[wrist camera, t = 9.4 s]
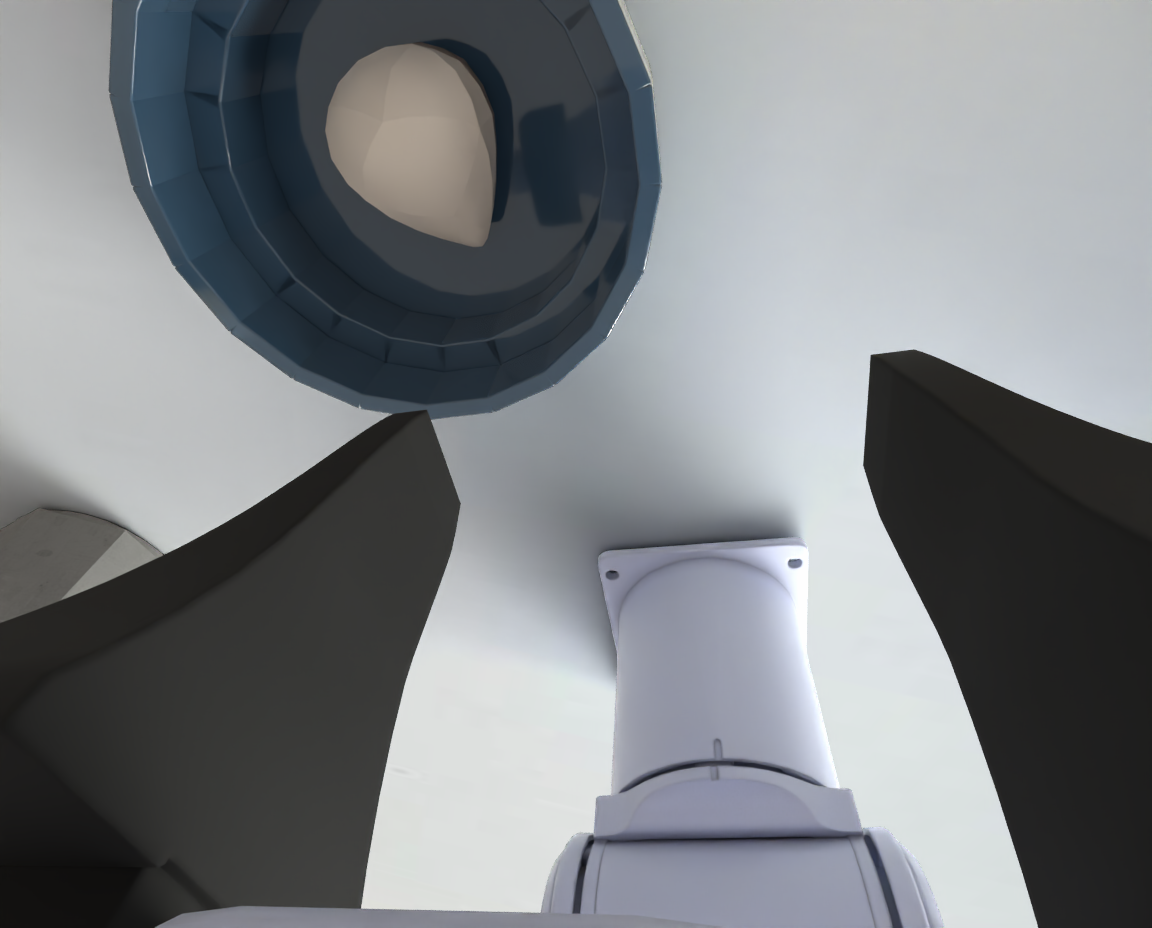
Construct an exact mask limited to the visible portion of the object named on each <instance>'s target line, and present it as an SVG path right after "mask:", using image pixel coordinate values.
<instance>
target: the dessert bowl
mask: <svg viewBox="0 0 1152 928" xmlns="http://www.w3.org/2000/svg"><path fill="white" fill-rule="evenodd" d="M420 42H422V43H426V44H430V45H433V46H437V47H441V48H444V49H446V50H448V51H450V52H451V53H453V54H455V55H457V56H459V57H461V58H463V59H464V60H465V61H466V62H467V64H468V65H469V66H470V68H471V69H472V71H473V72H474V73H475V75H476V76H477V77H478V79H479V80H480V81H481V83H482V84H483V87H484V89H485V92H486V94H487V97H488V99H489V102H490V104H491V107H492V109H493V112H494V118H495V130H496V142H497V173H496V190H495V200H494V208H493V214H492V219H491V225H490V229H489V234H488V238H487V240H486V242H485V243H484V245H483V246H481V247H471V246H467V245H463V244H460V243H456V242H452V241H448V240H444V239H441V238H438V237H435V236H432V235H429V234H426V233H423V232H420V231H418V230H415V229H413V228H411V227H409V226H407V225H405V224H403V223H400V222H398V221H396V220H394V219H392V218H390V217H389V216H387V215H386V214H384V213H383V212H381V211H380V210H379V209H377V208H376V207H374V206H373V205H372V204H370V203H369V202H367V201H365V200H364V199H363V198H362V197H361V196H360V195H359V194H358V193H357V192H356V191H355V190H354V189H352V188H351V187H350V186H349V185H348V184H347V182H346V181H345V179H344V178H343V176H342V175H341V173H340V172H339V170H338V168H337V167H336V165H335V164H334V162H333V161H332V159H331V155H330V151H329V146H328V141H327V137H326V132H325V128H326V121H327V114H328V107H329V104H330V102H331V99H332V97H333V94H334V92H335V89H336V87H337V84H338V83H339V82H340V80H341V79H342V78H343V77H344V76H345V75H346V74H347V72H348V71H349V70H350V69H351V68H352V67H353V66H354V64H355V63H356V62H357V61H358V60H360V59H362V58H364V57H366V56H368V55H370V54H372V53H374V52H376V51H378V50H380V49H382V48H384V47H388V46H396V45H402V44H411V43H420ZM109 93H111V94H110V100H111V104H112V108H113V112H114V117H115V121H116V125H117V129H118V133H119V137H120V141H121V145H122V149H123V153H124V157H125V161H126V165H127V170H128V174H129V178H130V182H131V185H132V186H134V187H133V190H134V192H135V194H136V196H137V198H138V199H139V201H140V203H141V205H142V207H143V209H144V211H145V213H146V215H147V217H148V219H149V220H150V222H151V224H152V226H153V228H154V230H155V232H156V234H157V236H158V238H159V239H160V241H161V243H162V245H163V247H164V249H165V251H166V253H167V255H168V257H169V259H170V260H171V262H172V264H173V266H176V267H175V269H176V270H177V271H178V273H179V274H180V275H181V276H182V277H183V278H184V280H185V281H186V282H187V283H188V284H189V285H190V287H191V288H192V289H193V290H194V291H195V292H196V294H197V295H198V296H199V297H200V298H201V299H202V301H203V302H204V303H205V304H206V305H207V306H208V308H209V309H210V310H211V311H212V312H213V313H214V315H215V316H216V317H217V318H218V319H219V321H220V322H221V323H222V324H223V325H224V326H225V328H226V329H227V330H228V331H231V334H233V335H234V336H235V337H237V338H238V339H239V340H241V341H242V342H243V343H245V344H246V345H247V346H249V347H250V348H251V349H253V350H254V351H255V352H257V353H258V354H259V355H261V356H262V357H263V358H265V359H266V360H267V361H269V362H270V363H271V364H273V365H274V366H276V367H277V368H278V369H280V370H281V371H282V372H284V373H285V374H286V375H288V376H289V377H290V378H294V380H295V381H298V382H300V383H302V384H304V385H307V386H309V387H311V388H314V389H316V390H318V391H320V392H323V393H325V394H327V395H330V396H332V397H334V398H336V399H339V400H341V401H343V402H346V403H348V404H350V405H352V406H355V407H357V408H361V409H364V410H370V411H376V412H383V413H389V414H395V413H403V412H411V411H419V410H427V411H428V414H429V416H430V419H431V420H432V419H441V418H450V417H459V416H467V415H476V414H485V413H492V412H496V411H499V410H501V409H503V408H505V407H508V406H510V405H512V404H514V403H517V402H519V401H521V400H523V399H526V398H528V397H530V396H532V395H535V394H537V393H539V392H542V391H544V390H546V389H548V388H551V387H553V386H554V385H556V384H557V383H559V382H560V381H561V380H562V379H563V378H564V377H565V376H566V375H567V374H568V373H570V372H571V371H572V370H573V369H574V368H575V367H576V366H577V365H578V364H579V363H581V362H582V361H583V360H584V359H585V358H586V357H587V356H588V355H589V354H590V353H592V352H593V351H594V350H595V349H596V348H597V347H598V346H599V345H600V344H601V343H603V342H604V341H605V340H606V338H607V337H608V336H609V334H610V333H611V331H612V329H613V327H614V325H615V324H616V322H617V320H618V318H619V316H620V315H621V313H622V311H623V309H624V307H625V306H626V304H627V302H628V300H629V299H630V297H631V295H632V293H633V291H634V290H635V288H636V286H637V284H638V282H639V281H640V279H641V277H642V275H643V273H644V270H645V268H646V263H647V258H648V253H649V248H650V243H651V238H652V233H653V228H654V223H655V218H656V213H657V208H658V203H659V198H660V193H661V188H662V186H661V183H662V176H661V162H660V149H659V139H658V129H657V119H656V109H655V99H654V89H653V79H652V71H651V70H650V64H649V62H648V59H647V57H646V54H645V52H644V49H643V47H642V44H641V42H640V39H639V37H638V34H637V32H636V29H635V27H634V25H633V22H632V20H631V17H630V15H629V12H628V10H627V7H626V5H625V2H624V0H112V23H111V48H110V73H109Z"/></svg>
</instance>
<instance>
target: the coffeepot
mask: <svg viewBox="0 0 1152 928" xmlns="http://www.w3.org/2000/svg"><path fill="white" fill-rule="evenodd" d="M160 556H163V554H162V553H161V552H159V551H158V550H157V549H155V548H154V547H153V546H152V545H150V544H149V543H148V542H146V541H145V540H143V539H141V538H140V537H138V536H136V535H135V534H133V533H131V532H130V531H128V530H126V529H124V528H121V527H119V526H117V525H115V524H113V523H110V522H108V521H105V520H102V519H99V518H96V517H93V516H90V515H86V514H81V513H76V512H71V511H58V510H46V509H41V508H38V509H36V510H34V511H32V512H31V513H29V514H27V515H25V516H22V517H20V518H19V519H17V520H16V521H15V522H13V523H11V524H10V525H8V526H6V527H4V528H3V529H1V530H0V623H1V622H4V621H7V620H10V619H12V618H15V617H18V616H21V615H23V614H26V613H29V612H32V611H34V610H37V609H39V608H42V607H45V606H47V605H50V604H52V603H55V602H58V601H60V600H63V599H65V598H68V597H70V596H73V595H75V594H78V593H80V592H83V591H85V590H87V589H90V588H92V587H95V586H97V585H100V584H102V583H104V582H107V581H109V580H111V579H114V578H116V577H118V576H120V575H122V574H124V573H126V572H129V571H131V570H133V569H135V568H137V567H139V566H141V565H143V564H146V563H148V562H150V561H152V560H154V559H156V558H158V557H160Z"/></svg>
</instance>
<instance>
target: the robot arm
mask: <svg viewBox="0 0 1152 928" xmlns="http://www.w3.org/2000/svg"><path fill="white" fill-rule="evenodd" d="M863 466H864V469H865V472H866V476H867V479H868V482H869V485H870V489H871V492H872V495H873V498H874V501H875V504H876V507H877V510H878V513H879V516H880V518H881V520H882V522H883V524H884V526H885V529H886V531H887V533H888V535H889V537H890V539H891V541H892V543H893V545H894V547H895V549H896V551H897V553H898V555H899V557H900V559H901V561H902V563H903V565H904V567H905V569H906V571H907V573H908V575H909V577H910V579H911V581H912V582H913V584H914V586H915V588H916V590H917V592H918V594H919V596H920V598H921V600H922V602H923V604H924V606H925V608H926V610H927V612H928V614H929V616H930V618H931V620H932V622H933V624H934V626H935V628H936V630H937V632H938V634H939V636H940V639H941V641H942V643H943V645H944V648H945V650H946V652H947V654H948V657H949V659H950V661H951V664H952V667H953V669H954V672H955V675H956V678H957V680H958V683H959V686H960V688H961V691H962V694H963V697H964V699H965V702H966V705H967V707H968V710H969V713H970V716H971V718H972V721H973V724H974V727H975V730H976V733H977V736H978V739H979V741H980V744H981V747H982V750H983V753H984V756H985V759H986V762H987V765H988V768H989V771H990V774H991V776H992V779H993V782H994V785H995V788H996V791H997V794H998V797H999V801H1000V804H1001V807H1002V810H1003V813H1004V816H1005V820H1006V823H1007V826H1008V829H1009V832H1010V835H1011V838H1012V842H1013V845H1014V848H1015V851H1016V854H1017V857H1018V860H1019V864H1020V867H1021V870H1022V873H1023V876H1024V880H1025V883H1026V887H1027V890H1028V894H1029V897H1030V900H1031V904H1032V907H1033V911H1034V914H1035V918H1036V921H1037V924H1038V928H1152V443H1149V442H1145V441H1142V440H1139V439H1136V438H1132V437H1129V436H1126V435H1123V434H1120V433H1117V432H1114V431H1111V430H1108V429H1106V428H1103V427H1100V426H1097V425H1095V424H1092V423H1089V422H1087V421H1084V420H1081V419H1079V418H1076V417H1073V416H1071V415H1068V414H1066V413H1063V412H1060V411H1058V410H1055V409H1053V408H1050V407H1048V406H1045V405H1043V404H1040V403H1038V402H1036V401H1033V400H1031V399H1028V398H1026V397H1024V396H1021V395H1019V394H1017V393H1014V392H1012V391H1010V390H1008V389H1005V388H1003V387H1001V386H999V385H996V384H994V383H992V382H990V381H988V380H985V379H983V378H981V377H979V376H977V375H974V374H972V373H970V372H968V371H966V370H963V369H961V368H959V367H957V366H955V365H952V364H950V363H948V362H945V361H943V360H941V359H939V358H936V357H934V356H931V355H929V354H926V353H923V352H920V351H917V350H907V351H899V352H891V353H882V354H874V355H871V361H870V376H869V390H868V405H867V419H866V434H865V449H864V463H863ZM460 504H461V503H460V500H459V498H458V495H457V492H456V489H455V486H454V484H453V481H452V478H451V475H450V472H449V470H448V467H447V464H446V461H445V458H444V456H443V453H442V450H441V447H440V444H439V442H438V439H437V436H436V433H435V430H434V428H433V425H432V422H431V419H430V416H429V414H428V411H427V410H419V411H411V412H403V413H395V414H392V415H390V416H388V417H386V418H384V419H383V420H381V421H379V422H378V423H376V424H374V425H373V426H371V427H370V428H368V429H367V430H365V431H364V432H362V433H361V434H359V435H358V436H356V437H355V438H353V439H352V440H350V441H349V442H347V443H346V444H345V445H343V446H342V447H340V448H339V449H337V450H336V451H335V452H333V453H332V454H330V455H329V456H327V457H326V458H325V459H323V460H322V461H320V462H319V463H317V464H316V465H315V466H313V467H312V468H310V469H309V470H307V471H306V472H305V473H303V474H302V475H300V476H299V477H297V478H296V479H294V480H292V481H291V482H289V483H288V484H286V485H285V486H283V487H282V488H280V489H279V490H277V491H276V492H274V493H273V494H271V495H270V496H268V497H266V498H265V499H263V500H262V501H260V502H259V503H257V504H256V505H254V506H253V507H251V508H249V509H248V510H246V511H244V512H243V513H241V514H239V515H238V516H236V517H234V518H233V519H231V520H229V521H227V522H226V523H224V524H222V525H220V526H219V527H217V528H215V529H213V530H211V531H209V532H208V533H206V534H204V535H202V536H200V537H198V538H197V539H195V540H193V541H191V542H189V543H187V544H185V545H183V546H181V547H179V548H177V549H175V550H173V551H171V552H169V553H167V554H165V555H163V556H160V557H158V558H156V559H154V560H152V561H150V562H148V563H146V564H143V565H141V566H139V567H137V568H135V569H133V570H131V571H129V572H126V573H124V574H122V575H120V576H118V577H116V578H114V579H111V580H109V581H107V582H104V583H102V584H100V585H97V586H95V587H92V588H90V589H87V590H85V591H83V592H80V593H78V594H75V595H73V596H70V597H68V598H65V599H63V600H60V601H58V602H55V603H52V604H50V605H47V606H45V607H42V608H39V609H37V610H34V611H32V612H29V613H26V614H23V615H21V616H18V617H15V618H12V619H10V620H7V621H4V622H1V623H0V928H945V926H944V923H943V920H942V917H941V914H940V911H939V909H938V906H937V903H936V900H935V898H934V895H933V892H932V890H931V887H930V885H929V883H928V880H927V878H926V876H925V874H924V872H923V870H922V868H921V866H920V864H919V862H918V861H917V859H916V858H915V856H914V855H913V854H912V853H911V852H910V851H909V850H908V849H906V848H905V847H904V846H903V845H902V844H901V843H900V842H898V841H897V840H896V838H895V837H894V836H893V834H892V833H891V832H890V831H888V830H887V829H886V828H883V827H872V828H863V831H862V827H861V823H860V819H859V816H858V812H857V808H856V804H855V800H854V796H853V792H852V790H850V789H847V788H840V787H839V783H838V779H837V775H836V771H835V767H834V762H833V758H832V754H831V750H830V746H829V742H828V738H827V734H826V730H825V726H824V722H823V718H822V714H821V709H820V705H819V701H818V697H817V693H816V689H815V685H814V681H813V677H812V673H811V669H810V665H809V660H808V656H807V652H806V628H807V586H808V548H807V545H806V542H805V541H804V540H803V539H801V538H797V537H789V538H775V539H761V540H748V541H734V542H720V543H706V544H693V545H679V546H665V547H651V548H638V549H624V550H610V551H605V552H603V553H601V554H600V556H599V558H598V569H599V573H600V578H601V583H602V587H603V592H604V596H605V601H606V606H607V610H608V615H609V619H610V624H611V629H612V633H613V638H614V642H615V647H616V652H617V656H618V659H617V680H616V700H615V721H614V742H613V763H612V784H611V795H607V796H599V797H597V798H596V808H595V823H594V833H577V834H575V835H574V836H572V837H571V839H570V840H569V842H568V843H567V844H566V846H565V849H564V850H563V852H562V853H561V854H560V856H559V857H558V858H557V859H556V861H555V863H554V864H553V866H552V869H551V871H550V874H549V877H548V880H547V884H546V888H545V892H544V897H543V902H542V908H541V913H522V912H479V911H436V910H393V909H361V904H362V897H363V890H364V883H365V876H366V869H367V863H368V857H369V852H370V846H371V840H372V835H373V829H374V824H375V818H376V812H377V807H378V801H379V795H380V791H381V786H382V781H383V777H384V772H385V767H386V762H387V758H388V753H389V748H390V743H391V739H392V734H393V730H394V726H395V722H396V718H397V714H398V710H399V705H400V701H401V697H402V693H403V689H404V685H405V681H406V678H407V675H408V672H409V669H410V665H411V662H412V659H413V656H414V654H415V651H416V648H417V645H418V643H419V640H420V637H421V635H422V632H423V629H424V626H425V624H426V621H427V618H428V615H429V613H430V610H431V607H432V605H433V602H434V599H435V596H436V594H437V591H438V588H439V585H440V583H441V580H442V577H443V574H444V571H445V568H446V566H447V563H448V560H449V557H450V554H451V551H452V546H453V541H454V537H455V532H456V527H457V521H458V515H459V510H460ZM792 558H799V559H797V560H795V561H789V560H790V559H792ZM610 570H613V571H616V573H610V572H608V571H610Z"/></svg>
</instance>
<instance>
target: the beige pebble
mask: <svg viewBox="0 0 1152 928" xmlns="http://www.w3.org/2000/svg"><path fill="white" fill-rule="evenodd" d="M325 132H326V137H327V141H328V146H329V151H330V155H331V159H332V161H333V162H334V164H335V165H336V167H337V168H338V170H339V172H340V173H341V175H342V176H343V178H344V179H345V181H346V182H347V184H348V185H349V186H350V187H351V188H352V189H354V190H355V191H356V192H357V193H358V194H359V195H360V196H361V197H362V198H363V199H364V200H365V201H367V202H369V203H370V204H372V205H373V206H374V207H376V208H377V209H379V210H380V211H381V212H383V213H384V214H386V215H387V216H389V217H390V218H392V219H394V220H396V221H398V222H400V223H403V224H405V225H407V226H409V227H411V228H413V229H415V230H418V231H420V232H423V233H426V234H429V235H432V236H435V237H438V238H441V239H444V240H448V241H452V242H456V243H460V244H463V245H467V246H471V247H481V246H483V245H484V243H485V242H486V240H487V238H488V234H489V229H490V225H491V219H492V214H493V208H494V200H495V190H496V173H497V142H496V130H495V118H494V112H493V109H492V107H491V104H490V102H489V99H488V97H487V94H486V92H485V89H484V87H483V84H482V83H481V81H480V80H479V79H478V77H477V76H476V75H475V73H474V72H473V71H472V69H471V68H470V66H469V65H468V64H467V62H466V61H465V60H464V59H463V58H461V57H459V56H457V55H455V54H453V53H451V52H450V51H448V50H446V49H444V48H441V47H437V46H433V45H430V44H426V43H422V42H420V43H411V44H402V45H396V46H388V47H384V48H382V49H380V50H378V51H376V52H374V53H372V54H370V55H368V56H366V57H364V58H362V59H360V60H358V61H357V62H356V63H355V64H354V66H353V67H352V68H351V69H350V70H349V71H348V72H347V74H346V75H345V76H344V77H343V78H342V79H341V80H340V82H339V83H338V84H337V87H336V89H335V92H334V94H333V97H332V99H331V102H330V104H329V107H328V114H327V121H326V128H325Z"/></svg>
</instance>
